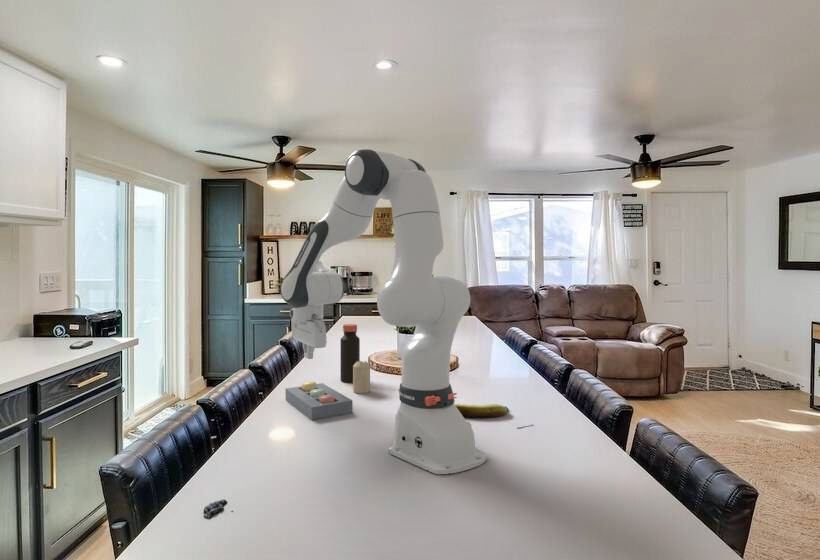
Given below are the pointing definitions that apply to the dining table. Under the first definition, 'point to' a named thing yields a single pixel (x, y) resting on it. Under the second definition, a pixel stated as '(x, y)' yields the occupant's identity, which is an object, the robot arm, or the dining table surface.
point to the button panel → (313, 406)
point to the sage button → (317, 392)
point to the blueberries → (214, 508)
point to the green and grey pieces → (483, 411)
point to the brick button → (326, 399)
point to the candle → (361, 377)
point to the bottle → (349, 351)
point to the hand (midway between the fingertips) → (308, 358)
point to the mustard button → (308, 386)
